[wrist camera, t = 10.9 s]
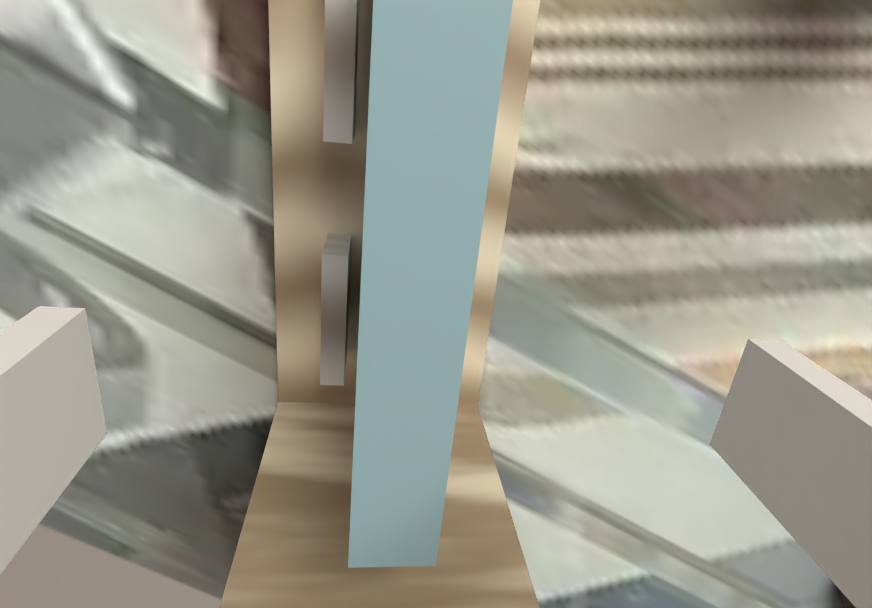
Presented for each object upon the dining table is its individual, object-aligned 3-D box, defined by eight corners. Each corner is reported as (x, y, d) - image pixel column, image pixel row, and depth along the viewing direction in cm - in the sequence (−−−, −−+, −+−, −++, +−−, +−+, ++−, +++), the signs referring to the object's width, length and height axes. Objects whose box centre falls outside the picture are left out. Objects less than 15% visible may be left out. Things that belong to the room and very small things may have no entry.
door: (410, 361, 31) (436, 566, 18) (358, 359, 31) (347, 567, 18) (446, -38, 23) (535, -166, 10) (377, -47, 23) (381, -194, 10)
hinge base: (468, 413, 35) (534, 654, 21) (283, 410, 34) (216, 669, 19) (550, -147, 23) (837, -494, 9) (272, -194, 22) (70, -714, 7)
